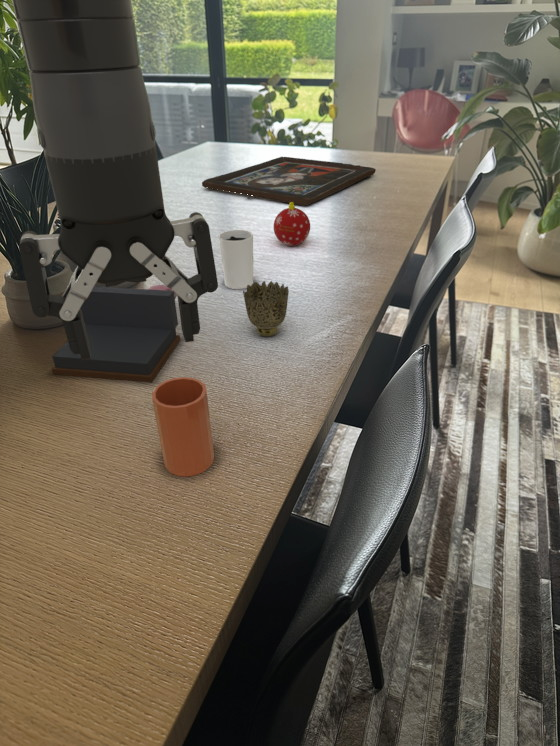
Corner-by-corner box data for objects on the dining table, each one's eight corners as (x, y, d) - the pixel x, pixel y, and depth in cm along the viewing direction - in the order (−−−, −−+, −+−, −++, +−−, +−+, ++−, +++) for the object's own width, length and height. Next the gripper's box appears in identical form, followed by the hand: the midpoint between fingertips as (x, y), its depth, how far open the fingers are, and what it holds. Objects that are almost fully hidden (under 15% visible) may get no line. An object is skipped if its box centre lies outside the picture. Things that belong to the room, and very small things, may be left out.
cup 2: (281, 346, 90) (279, 301, 85) (239, 340, 92) (236, 296, 87) (294, 325, 95) (294, 283, 91) (255, 320, 98) (252, 278, 93)
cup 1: (157, 473, 65) (143, 404, 59) (174, 441, 70) (163, 375, 64) (205, 479, 64) (196, 409, 58) (219, 446, 69) (212, 379, 63)
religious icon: (198, 191, 175) (197, 181, 173) (279, 164, 205) (279, 155, 204) (305, 209, 155) (305, 198, 153) (377, 176, 186) (377, 166, 184)
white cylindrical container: (217, 287, 110) (212, 239, 105) (231, 275, 115) (227, 228, 110) (247, 291, 108) (244, 242, 103) (260, 279, 113) (258, 231, 108)
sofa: (52, 374, 84) (37, 321, 79) (92, 333, 95) (80, 285, 90) (151, 382, 81) (141, 328, 77) (180, 340, 92) (173, 290, 87)
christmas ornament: (266, 246, 130) (265, 203, 124) (288, 236, 136) (287, 195, 130) (296, 253, 125) (295, 209, 120) (317, 242, 131) (317, 200, 126)
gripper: (193, 127, 43) (211, 315, 51) (-4, 142, 39) (51, 340, 48) (211, 144, 37) (229, 353, 45) (-20, 162, 33) (47, 384, 42)
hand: (138, 346), depth 47 cm, fingers open, 8 cm apart
